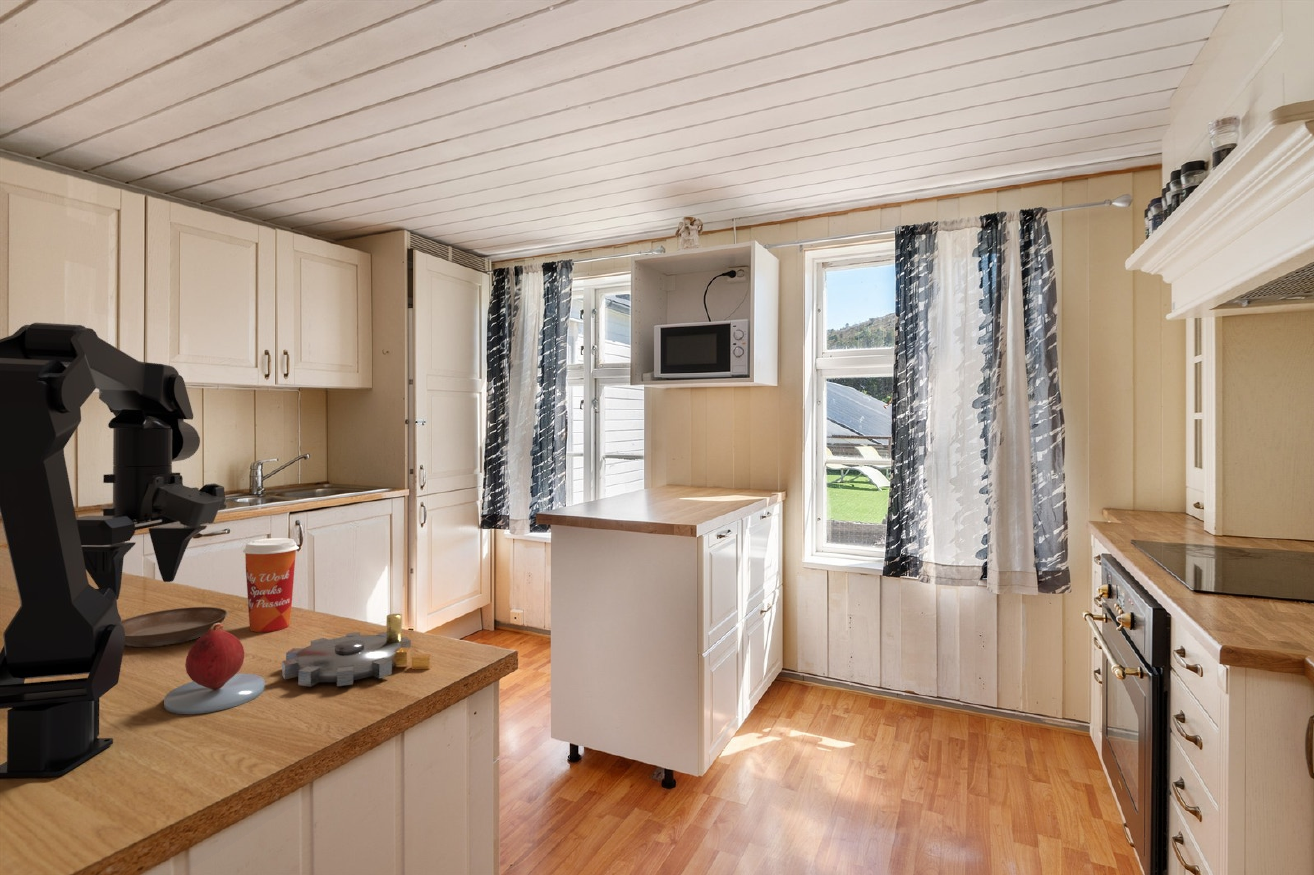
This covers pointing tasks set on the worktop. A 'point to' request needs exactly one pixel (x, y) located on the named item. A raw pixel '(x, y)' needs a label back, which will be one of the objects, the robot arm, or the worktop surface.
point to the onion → (214, 658)
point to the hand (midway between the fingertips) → (142, 590)
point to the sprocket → (349, 656)
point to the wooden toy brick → (422, 661)
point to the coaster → (214, 695)
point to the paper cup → (270, 582)
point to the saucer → (170, 626)
